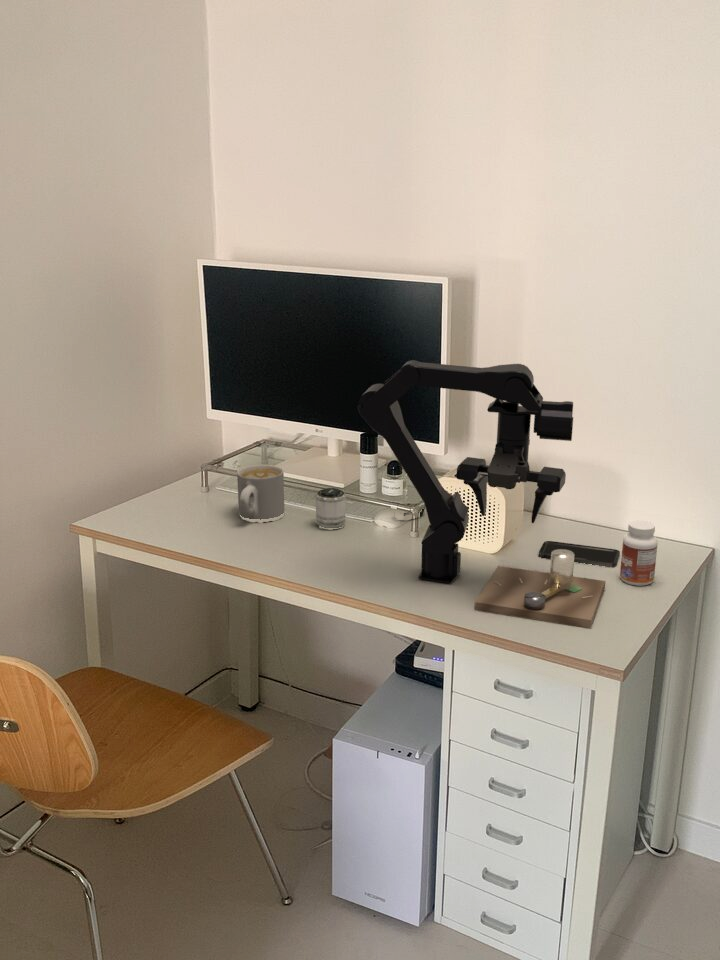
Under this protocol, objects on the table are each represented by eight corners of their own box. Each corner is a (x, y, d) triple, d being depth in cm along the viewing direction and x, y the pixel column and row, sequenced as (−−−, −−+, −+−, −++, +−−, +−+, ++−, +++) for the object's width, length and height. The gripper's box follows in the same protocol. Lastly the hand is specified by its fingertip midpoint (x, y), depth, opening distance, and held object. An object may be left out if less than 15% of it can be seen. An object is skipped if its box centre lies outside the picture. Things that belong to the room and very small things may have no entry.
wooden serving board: (474, 609, 178) (475, 601, 178) (497, 573, 193) (498, 564, 193) (590, 628, 171) (591, 619, 171) (604, 588, 187) (605, 580, 186)
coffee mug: (257, 504, 230) (256, 462, 227) (293, 512, 225) (292, 469, 222) (219, 522, 219) (217, 478, 216) (256, 531, 214) (254, 486, 211)
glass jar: (311, 528, 215) (310, 493, 213) (323, 518, 221) (323, 484, 218) (338, 532, 213) (338, 497, 211) (350, 522, 219) (350, 488, 216)
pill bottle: (614, 573, 193) (619, 519, 189) (646, 572, 193) (651, 517, 190) (626, 587, 187) (631, 531, 183) (658, 586, 188) (664, 529, 184)
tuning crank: (538, 611, 174) (540, 573, 171) (518, 604, 176) (520, 566, 174) (580, 587, 183) (583, 551, 180) (561, 581, 185) (564, 545, 183)
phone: (545, 540, 207) (620, 549, 202) (544, 545, 207) (620, 555, 202) (537, 554, 200) (615, 564, 195) (537, 559, 200) (615, 570, 195)
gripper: (449, 442, 177) (445, 526, 182) (556, 455, 170) (549, 542, 175) (467, 426, 187) (463, 506, 192) (569, 438, 180) (562, 520, 185)
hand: (508, 518), depth 186 cm, fingers open, 9 cm apart
